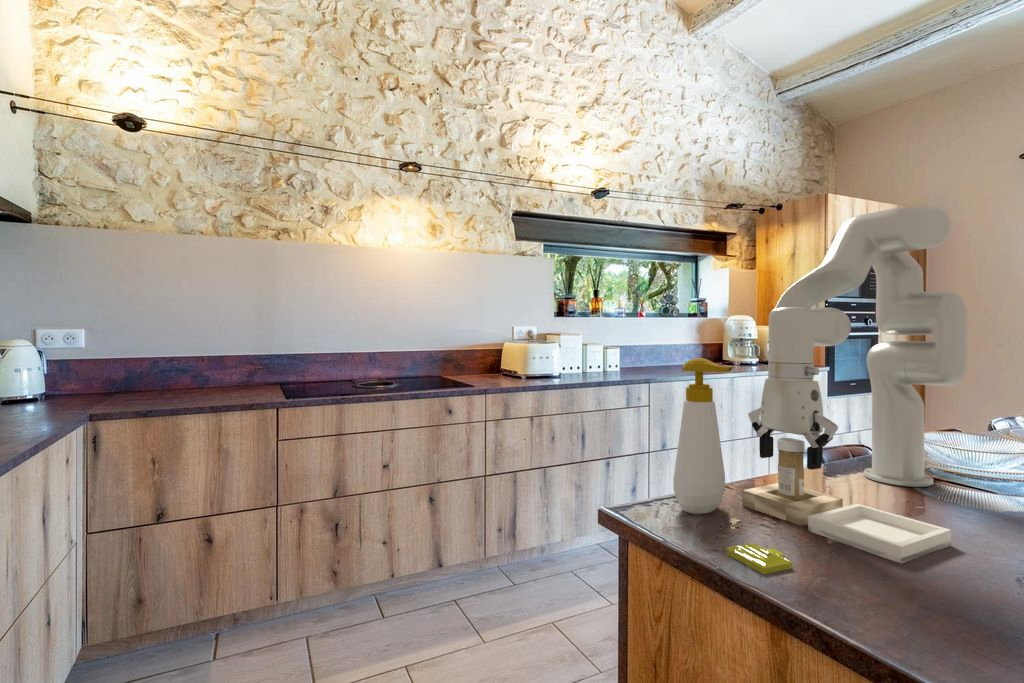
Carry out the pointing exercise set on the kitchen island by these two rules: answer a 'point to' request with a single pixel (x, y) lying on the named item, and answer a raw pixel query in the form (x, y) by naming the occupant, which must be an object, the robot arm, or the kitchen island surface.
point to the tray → (880, 532)
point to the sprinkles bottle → (791, 468)
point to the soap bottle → (699, 445)
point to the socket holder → (789, 503)
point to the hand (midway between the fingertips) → (789, 462)
